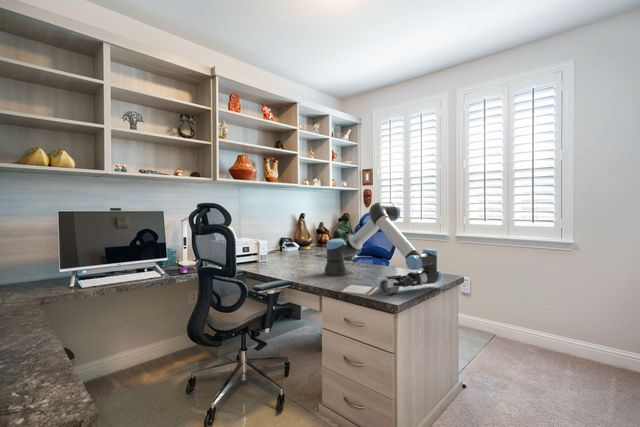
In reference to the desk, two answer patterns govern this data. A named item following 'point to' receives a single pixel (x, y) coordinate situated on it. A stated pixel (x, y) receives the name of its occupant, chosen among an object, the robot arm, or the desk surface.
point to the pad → (357, 289)
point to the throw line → (373, 291)
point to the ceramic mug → (386, 290)
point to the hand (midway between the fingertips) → (382, 283)
